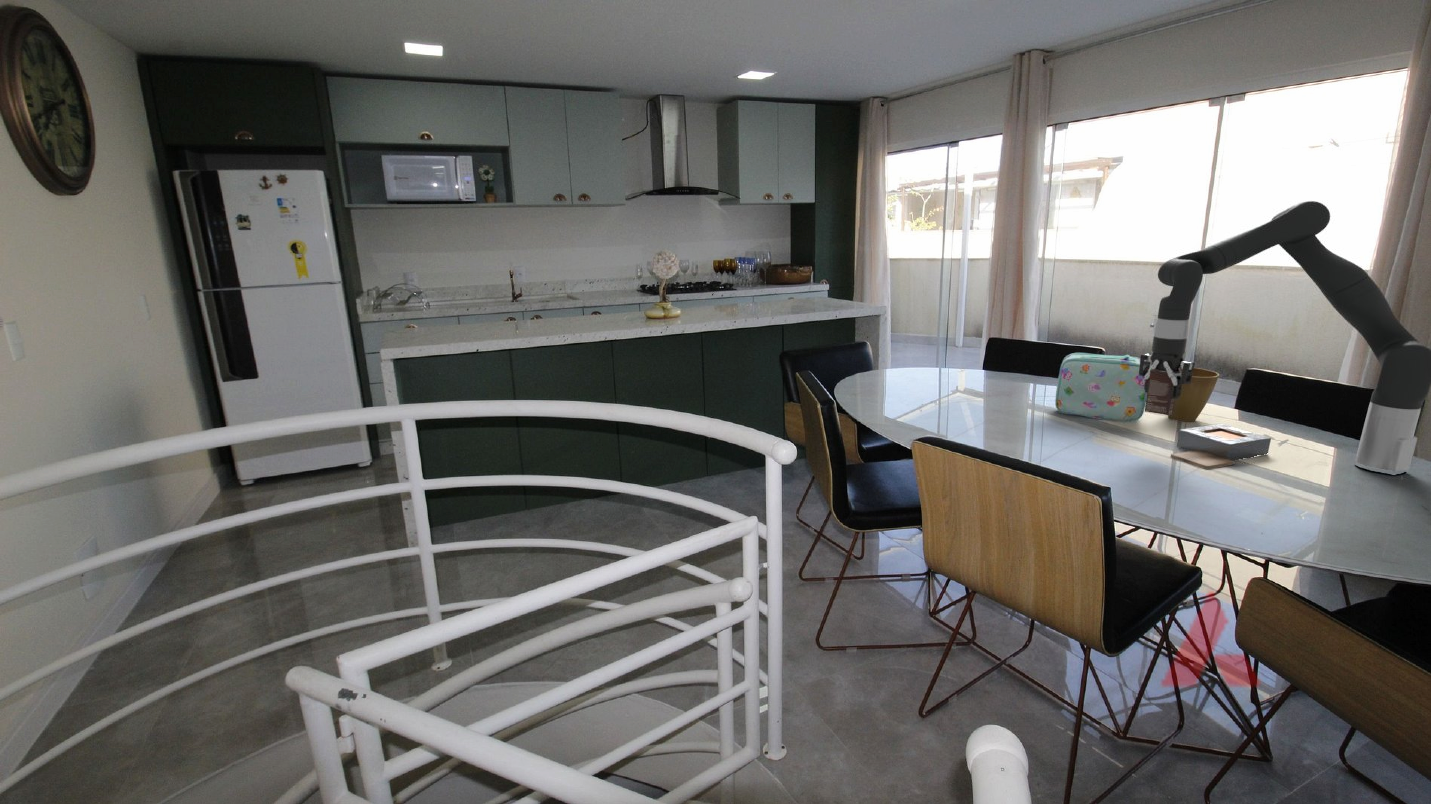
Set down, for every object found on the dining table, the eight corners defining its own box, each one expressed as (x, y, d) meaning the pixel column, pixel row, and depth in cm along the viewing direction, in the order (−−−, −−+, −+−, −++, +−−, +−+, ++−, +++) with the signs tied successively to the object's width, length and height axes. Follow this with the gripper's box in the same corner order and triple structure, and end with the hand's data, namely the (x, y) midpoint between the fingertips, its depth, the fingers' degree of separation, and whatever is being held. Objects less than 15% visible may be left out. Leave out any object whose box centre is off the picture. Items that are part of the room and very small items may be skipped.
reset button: (1241, 442, 185) (1242, 437, 185) (1226, 444, 184) (1227, 439, 183) (1219, 436, 191) (1220, 431, 190) (1204, 438, 189) (1205, 433, 189)
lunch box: (1145, 417, 220) (1156, 353, 214) (1146, 426, 211) (1157, 359, 205) (1055, 407, 233) (1062, 346, 227) (1052, 414, 224) (1060, 352, 219)
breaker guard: (1267, 455, 184) (1271, 437, 183) (1226, 462, 179) (1229, 443, 178) (1216, 440, 197) (1219, 423, 196) (1176, 446, 192) (1179, 428, 191)
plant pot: (1144, 416, 221) (1152, 369, 217) (1172, 410, 227) (1180, 364, 223) (1191, 428, 208) (1200, 378, 204) (1220, 422, 214) (1229, 373, 210)
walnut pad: (1233, 464, 177) (1234, 461, 177) (1206, 469, 174) (1207, 466, 174) (1197, 452, 186) (1197, 450, 186) (1170, 456, 183) (1171, 454, 183)
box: (1173, 413, 184) (1180, 370, 181) (1168, 416, 181) (1175, 372, 178) (1149, 408, 188) (1155, 367, 185) (1143, 411, 185) (1149, 369, 182)
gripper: (1207, 338, 174) (1196, 400, 178) (1156, 331, 187) (1147, 388, 191) (1186, 340, 171) (1176, 403, 176) (1135, 332, 184) (1127, 391, 189)
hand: (1161, 395), depth 183 cm, fingers closed on box, 7 cm apart
